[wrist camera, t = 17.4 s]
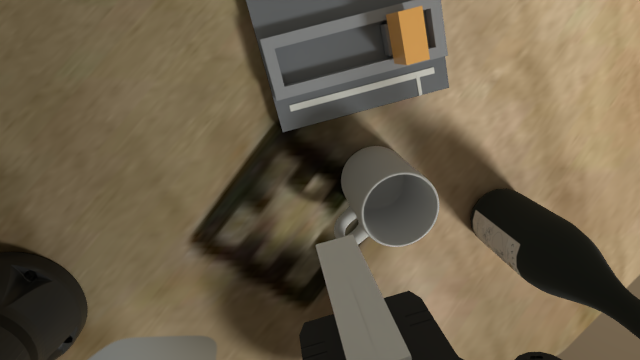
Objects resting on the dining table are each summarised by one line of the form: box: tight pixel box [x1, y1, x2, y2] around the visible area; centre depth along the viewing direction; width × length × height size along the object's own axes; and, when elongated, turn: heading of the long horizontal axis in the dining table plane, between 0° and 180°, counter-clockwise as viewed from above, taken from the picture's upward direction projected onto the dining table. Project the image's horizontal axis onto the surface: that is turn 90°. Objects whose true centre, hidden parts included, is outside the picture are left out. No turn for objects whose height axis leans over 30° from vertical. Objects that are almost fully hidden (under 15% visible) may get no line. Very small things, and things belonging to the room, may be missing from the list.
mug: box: [334, 146, 439, 247], centre depth 47 cm, size 12×8×11 cm
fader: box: [380, 6, 430, 65], centre depth 42 cm, size 3×5×6 cm, turn 14°
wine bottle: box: [471, 189, 640, 339], centre depth 42 cm, size 8×8×30 cm
